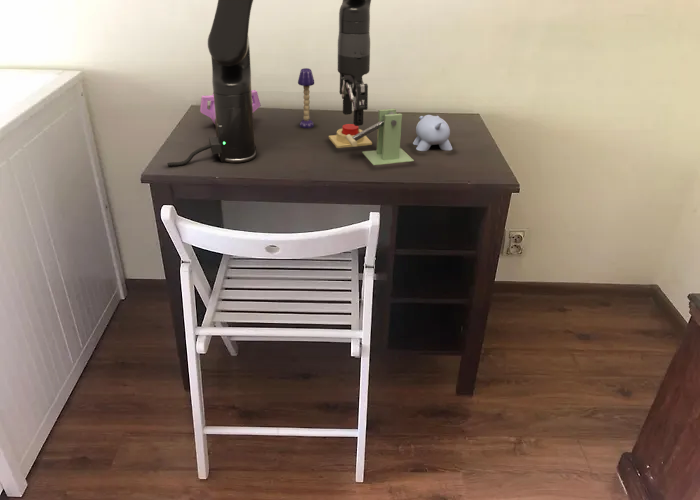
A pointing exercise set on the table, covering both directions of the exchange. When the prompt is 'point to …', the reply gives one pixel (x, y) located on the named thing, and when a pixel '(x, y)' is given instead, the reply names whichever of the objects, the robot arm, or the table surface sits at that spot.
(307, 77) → the toy lamp
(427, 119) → the hippopotamus toy
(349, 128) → the button
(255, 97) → the pot
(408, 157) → the bracket
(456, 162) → the table surface
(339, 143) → the button box
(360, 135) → the lever
